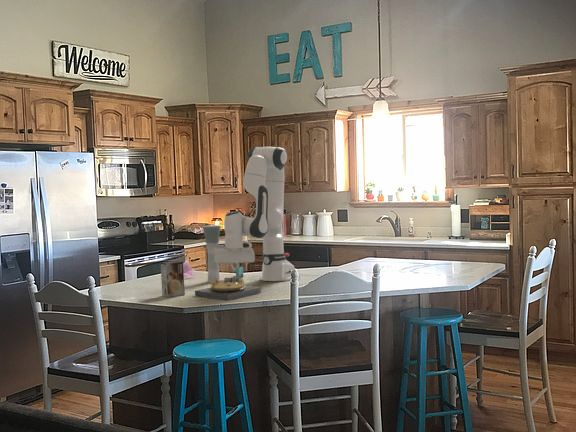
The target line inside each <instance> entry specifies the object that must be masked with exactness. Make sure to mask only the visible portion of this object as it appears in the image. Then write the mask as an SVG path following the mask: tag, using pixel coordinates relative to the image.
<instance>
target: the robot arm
mask: <svg viewBox="0 0 576 432" xmlns="http://www.w3.org/2000/svg"><path fill="white" fill-rule="evenodd" d="M246 160H247V164H246V168H245V171H244V176H243V187H244V189H245V190H246V192H248V193H249V194H250V195H252V196H253V197H254V198H255V216H254V217H250V216H245V215H244V214H243V213H241V211H239V210H234V211H230V212H227V213H225V215H224V220H223V221H224V223H223V225H224V227H223V228H224V230H223V231H224V234H225V236H224V244H218V245H216V246H214V248H213V253H214V254H215V255H214V263H215V264H218V265H222V264H226V265H227V264H229V265H230V266H229V267H230V268H231V269H232V273H236V268H238V267H240V264H243V263H244V264H246V263H250V264H251V263H254V262H255V261H256V258H255V251H254V249H253V248H252V246H253V244H252V242H250V241H246V240H243V239H244V238H243V237H249V238H250V237H251V238H257V239H262V262H263V263H262V266H261V267H262V269H261V276H260V279H261V281H265V282H286V281H287V282H288V281H291V280H292V279H291V270H293V269H295V270H296V268H295V266H294V265H293V264H292V263H291V262H289V260H287V257H288V258H289V256H290V253H288V252H285V250H284V246H285V245H284V233H283V232H284V231H283V222H284V212H285V211H284V205H285V204H284V203H285V202H284V199H285V198H284V197H285V180H286V179H285V166H286V164H287V162H288V160H289V159H288V152H287V150H286V149H284V148H283V147H281V146H280V147H279V146H277V147H276V146H259V147H258V146H255V147H252V148H250V149H249V150H248V152H247V155H246ZM234 264H236V267H234ZM298 275H299V277H298V278H300V277H301V276H300V274H298Z"/></svg>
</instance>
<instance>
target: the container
mask: <svg viewBox="0 0 576 432" xmlns="http://www.w3.org/2000/svg"><path fill="white" fill-rule="evenodd" d="M221 228H222V227H221V225H219V224H218V225H204V226H202V230H203V234H204V238H205V245H206V251H207V280H206V281H207V283H210V284H211V280H213V279H215V280H218V281H219V280H221V278H220V267H219V265H220V264H215V263H214V255H215V254H214V253H213V248H214V246H216V245H219V243H220V234H221Z"/></svg>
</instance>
